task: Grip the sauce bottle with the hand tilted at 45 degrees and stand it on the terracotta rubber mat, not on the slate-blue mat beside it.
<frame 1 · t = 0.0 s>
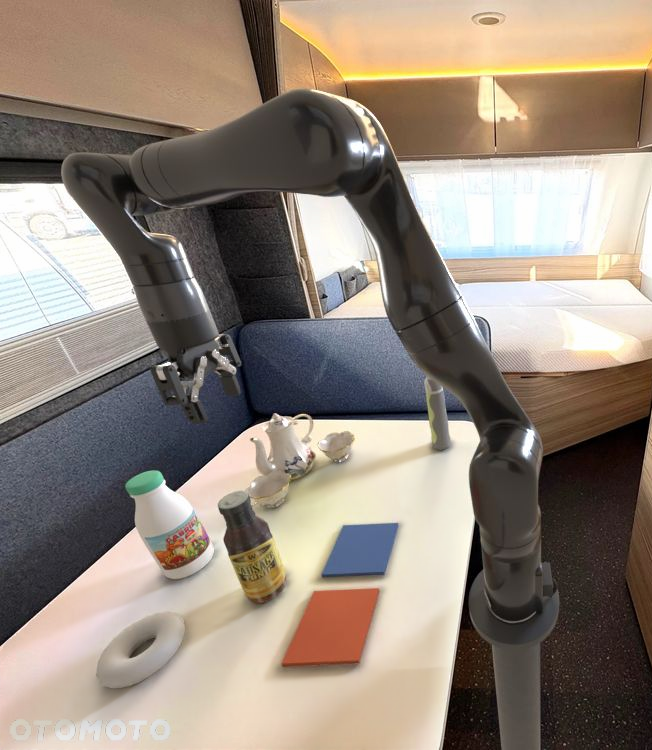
hand: (218, 407, 63), 30 cm above the table, tool pointing down, fingers open, 8 cm apart
sauce bottle: (270, 588, 66), on the table
chinaware: (302, 474, 93), on the table
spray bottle: (441, 445, 101), on the table
donut: (148, 654, 57), on the table
slate-blue mat: (362, 549, 72), on the table
terracotta mat: (335, 625, 60), on the table
milk bottle: (191, 562, 72), on the table
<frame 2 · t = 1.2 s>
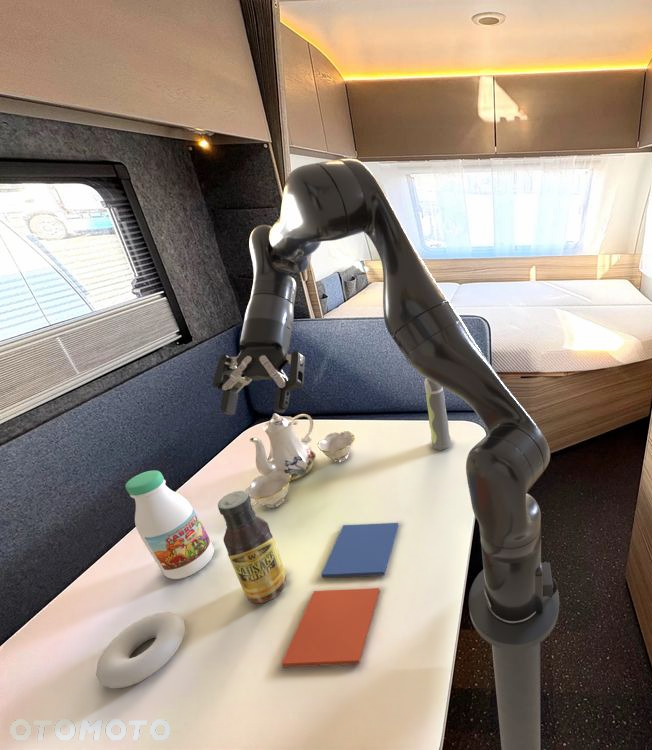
hand: (253, 412, 64), 28 cm above the table, tool tilted 45°, fingers open, 8 cm apart
nothing on the table moved.
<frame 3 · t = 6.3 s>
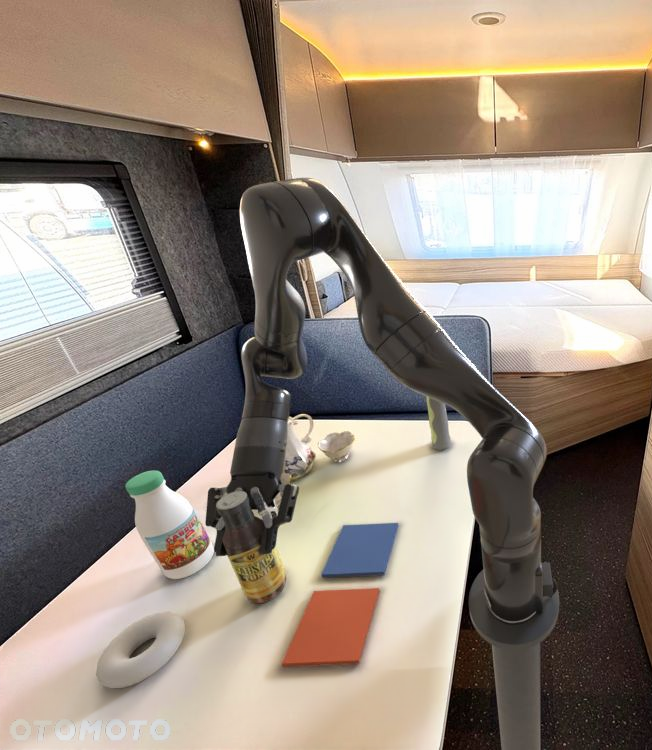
hand: (244, 554, 60), 10 cm above the table, tool tilted 45°, fingers closed on sauce bottle, 6 cm apart
sauce bottle: (270, 588, 66), on the table, touching gripper
everything else where it was.
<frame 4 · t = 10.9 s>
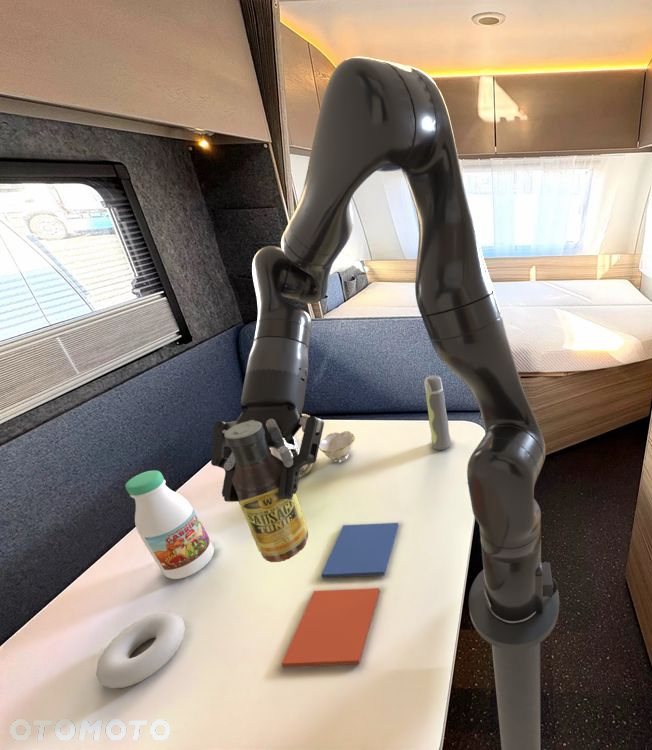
hand: (258, 499, 49), 26 cm above the table, tool tilted 45°, fingers closed on sauce bottle, 6 cm apart
sauce bottle: (288, 546, 55), point 15 cm above the table, touching gripper
everything else where it was.
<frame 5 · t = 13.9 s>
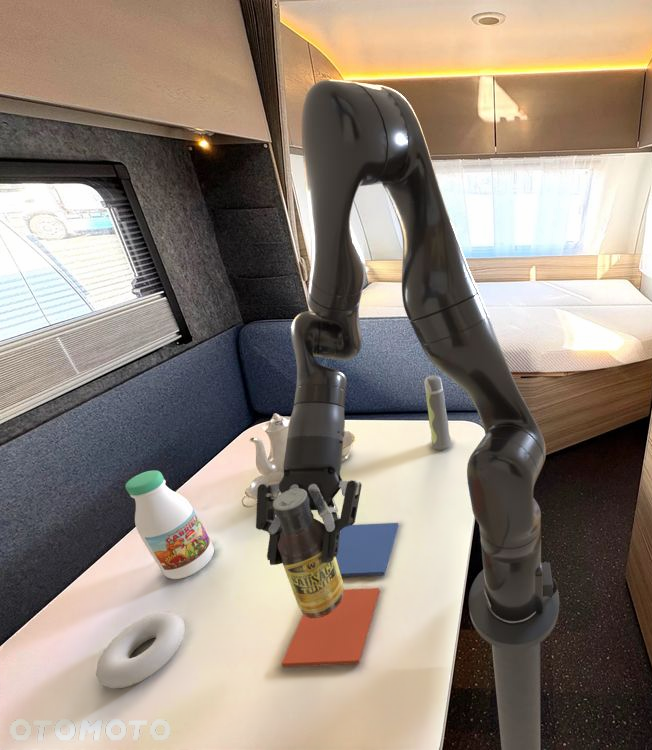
hand: (302, 562, 51), 16 cm above the table, tool tilted 45°, fingers closed on sauce bottle, 6 cm apart
sauce bottle: (325, 600, 57), point 6 cm above the table, touching gripper
everything else where it was.
when the fingers open (11 cm above the table, at t = 15.9 s): sauce bottle stays where it is, resting on terracotta mat.
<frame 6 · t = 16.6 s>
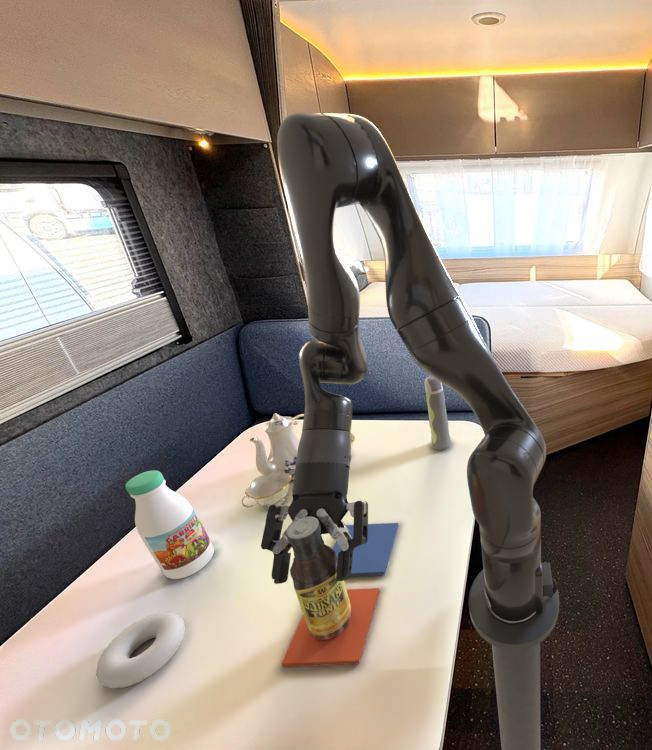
hand: (311, 581, 53), 12 cm above the table, tool tilted 45°, fingers open, 8 cm apart
sauce bottle: (333, 622, 60), point 1 cm above the table, touching terracotta mat
everything else where it was.
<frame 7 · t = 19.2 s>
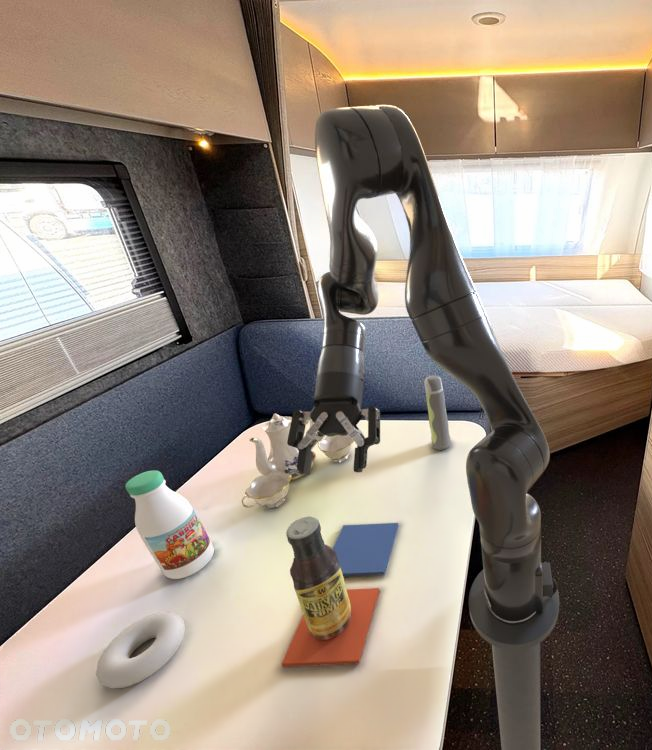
hand: (331, 473, 61), 21 cm above the table, tool tilted 45°, fingers open, 8 cm apart
nothing on the table moved.
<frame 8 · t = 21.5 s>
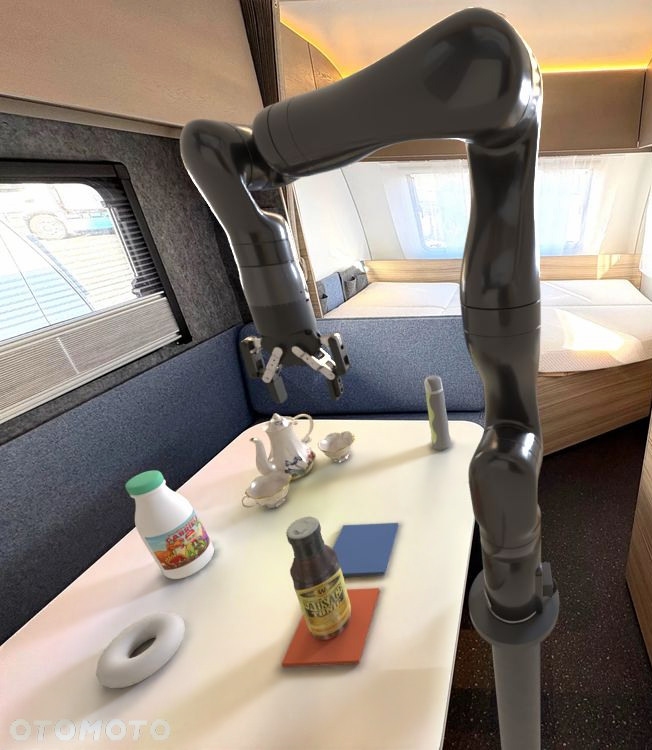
hand: (309, 399, 59), 32 cm above the table, tool pointing down, fingers open, 8 cm apart
nothing on the table moved.
at the end: sauce bottle inside the target area on the terracotta mat (0.3 cm from its centre), point 0.6 cm above the terracotta mat's base; sauce bottle tilted 0°; the gripper is holding nothing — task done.
